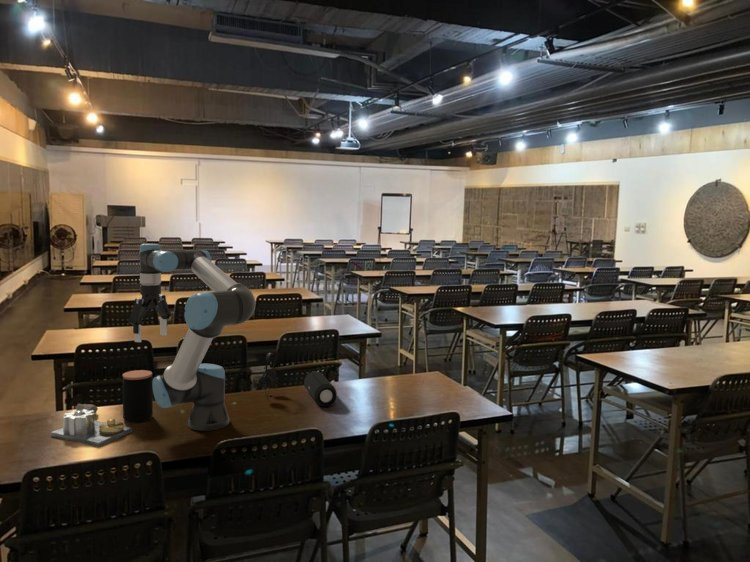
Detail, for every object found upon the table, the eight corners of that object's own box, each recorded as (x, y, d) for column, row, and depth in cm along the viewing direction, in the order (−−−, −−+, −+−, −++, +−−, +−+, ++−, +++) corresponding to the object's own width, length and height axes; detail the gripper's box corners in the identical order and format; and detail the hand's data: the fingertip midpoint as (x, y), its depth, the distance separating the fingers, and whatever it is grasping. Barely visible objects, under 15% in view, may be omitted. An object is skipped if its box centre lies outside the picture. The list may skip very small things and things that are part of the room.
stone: (100, 420, 215) (100, 405, 214) (76, 423, 211) (76, 408, 210) (97, 412, 223) (97, 398, 223) (74, 415, 219) (74, 401, 218)
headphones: (282, 403, 242) (283, 358, 239) (256, 402, 242) (257, 357, 239) (288, 392, 256) (289, 350, 254) (264, 391, 257) (264, 349, 254)
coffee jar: (158, 416, 221) (158, 372, 219) (139, 425, 211) (138, 379, 209) (137, 412, 224) (136, 368, 222) (116, 421, 214) (116, 375, 212)
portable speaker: (302, 391, 260) (303, 370, 258) (323, 389, 263) (323, 369, 262) (315, 409, 236) (316, 386, 235) (338, 407, 239) (338, 384, 238)
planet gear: (100, 427, 203) (100, 411, 203) (77, 437, 194) (77, 420, 193) (80, 423, 207) (80, 407, 206) (57, 432, 197) (56, 416, 197)
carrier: (131, 431, 204) (131, 409, 203) (98, 446, 190) (98, 422, 189) (86, 422, 212) (85, 400, 211) (51, 436, 198) (50, 413, 197)
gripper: (165, 280, 226) (165, 331, 228) (117, 286, 203) (118, 343, 205) (180, 281, 224) (180, 333, 226) (133, 288, 200) (134, 345, 203)
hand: (151, 338), depth 216 cm, fingers open, 13 cm apart
